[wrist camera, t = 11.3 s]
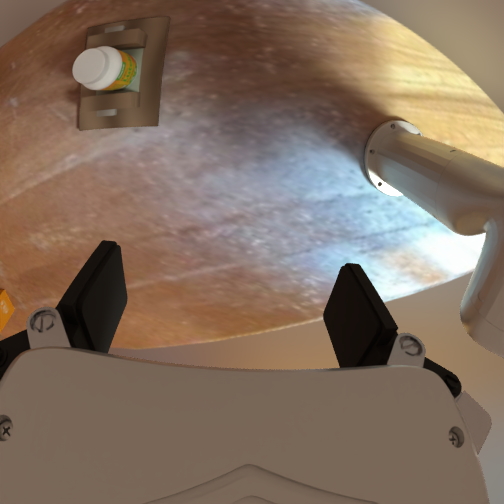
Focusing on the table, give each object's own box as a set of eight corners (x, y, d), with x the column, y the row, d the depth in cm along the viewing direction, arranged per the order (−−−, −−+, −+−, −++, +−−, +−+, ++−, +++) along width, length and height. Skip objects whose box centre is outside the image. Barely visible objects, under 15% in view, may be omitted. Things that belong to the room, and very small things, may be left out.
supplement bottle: (139, 86, 28) (111, 83, 20) (103, 94, 28) (67, 96, 20) (138, 50, 26) (111, 36, 17) (102, 59, 25) (67, 50, 17)
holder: (170, 18, 25) (162, 7, 20) (158, 125, 33) (148, 129, 28) (91, 29, 23) (75, 22, 19) (82, 129, 31) (65, 135, 27)
